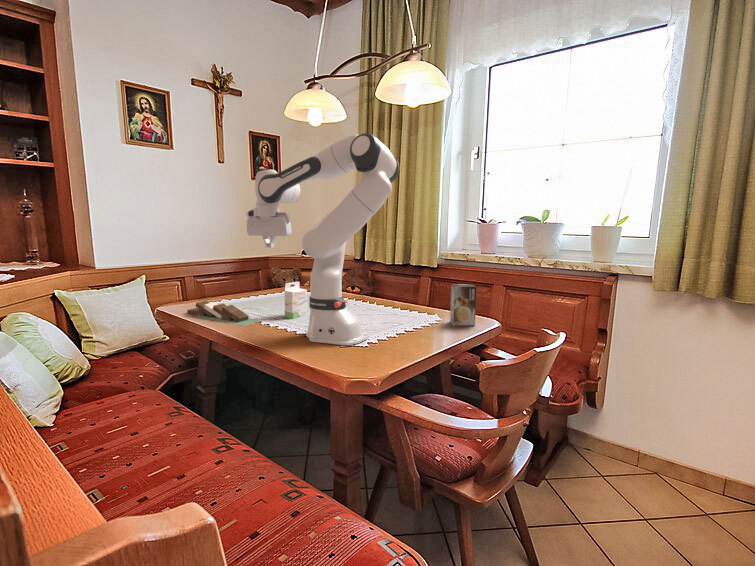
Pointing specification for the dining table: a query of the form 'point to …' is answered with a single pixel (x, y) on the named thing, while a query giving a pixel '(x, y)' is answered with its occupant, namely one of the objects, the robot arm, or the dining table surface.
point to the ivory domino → (210, 309)
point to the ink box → (295, 301)
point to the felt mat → (246, 322)
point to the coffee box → (463, 304)
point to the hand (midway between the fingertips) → (269, 247)
